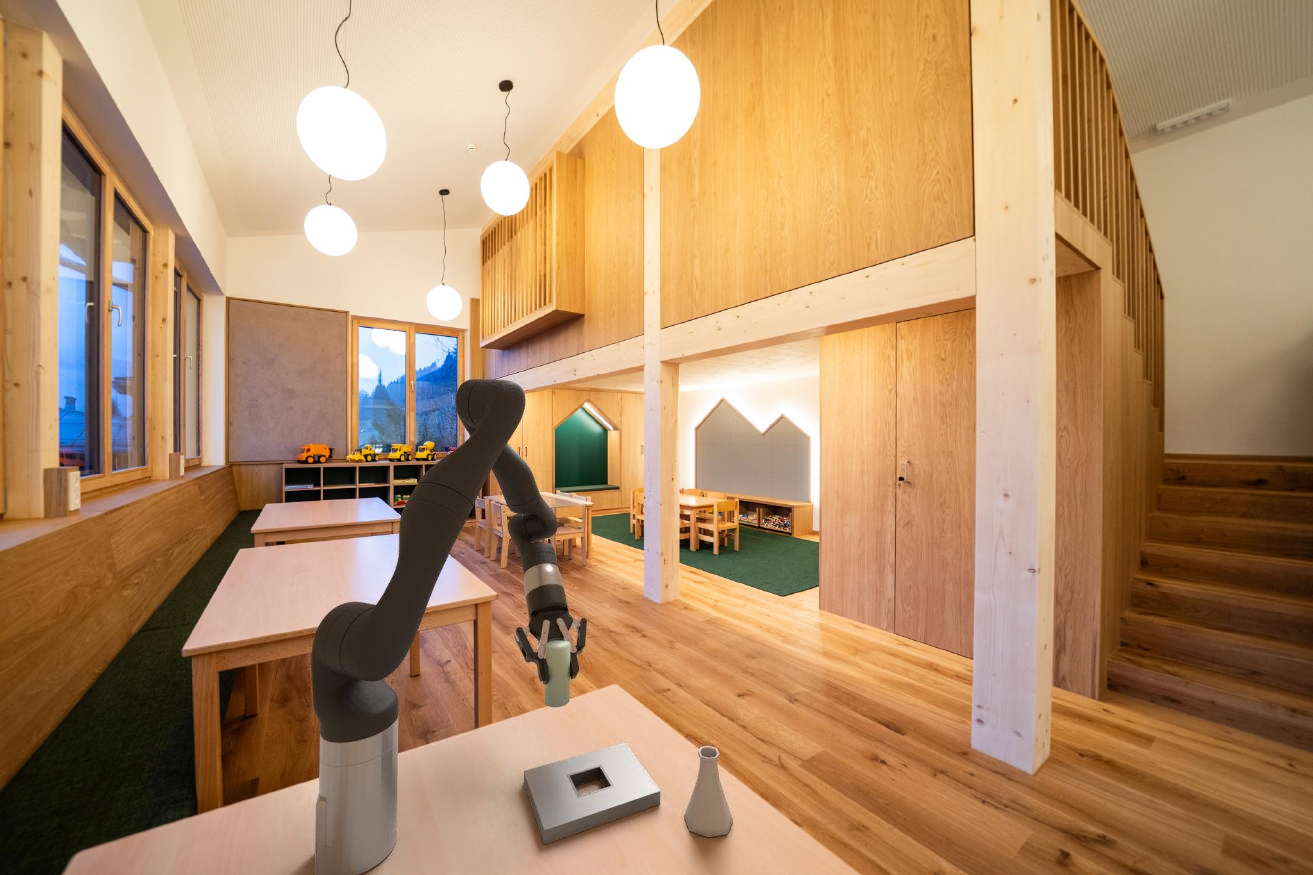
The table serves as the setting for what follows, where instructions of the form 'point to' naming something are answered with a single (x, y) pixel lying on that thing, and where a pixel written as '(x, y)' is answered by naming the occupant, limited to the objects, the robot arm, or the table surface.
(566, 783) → the socket plate
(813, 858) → the table surface
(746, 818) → the table surface
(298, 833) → the table surface
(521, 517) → the robot arm
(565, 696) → the peg
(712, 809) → the flask
